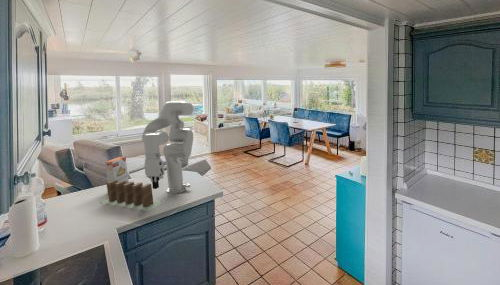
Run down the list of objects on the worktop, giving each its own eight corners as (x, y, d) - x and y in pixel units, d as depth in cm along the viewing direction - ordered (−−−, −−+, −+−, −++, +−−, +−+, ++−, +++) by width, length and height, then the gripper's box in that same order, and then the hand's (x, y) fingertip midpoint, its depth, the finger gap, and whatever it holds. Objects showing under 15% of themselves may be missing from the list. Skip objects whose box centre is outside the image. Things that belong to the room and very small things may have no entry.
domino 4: (144, 201, 166) (142, 182, 163) (137, 206, 160) (134, 186, 158) (141, 201, 167) (139, 182, 164) (134, 205, 161) (131, 185, 159)
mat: (163, 202, 164) (163, 202, 164) (149, 211, 153) (149, 210, 153) (115, 195, 179) (115, 195, 178) (99, 203, 168) (99, 202, 168)
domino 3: (136, 200, 168) (133, 181, 166) (128, 204, 163) (126, 185, 160) (133, 200, 169) (130, 181, 167) (125, 204, 164) (122, 184, 161)
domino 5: (153, 203, 163) (151, 183, 161) (146, 207, 158) (143, 187, 155) (150, 202, 164) (147, 183, 162) (142, 206, 159) (140, 187, 156)
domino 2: (128, 199, 171) (125, 180, 168) (120, 203, 165) (117, 184, 163) (125, 199, 171) (122, 180, 169) (117, 202, 166) (114, 183, 164)
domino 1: (120, 198, 173) (117, 179, 171) (112, 202, 168) (109, 183, 165) (117, 197, 174) (114, 179, 172) (109, 201, 168) (106, 182, 166)
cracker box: (116, 192, 185) (112, 162, 181) (108, 192, 186) (104, 161, 182) (129, 185, 198) (125, 156, 194) (122, 184, 200) (118, 156, 195)
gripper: (168, 155, 153) (171, 187, 156) (146, 153, 158) (150, 184, 162) (159, 158, 146) (162, 191, 149) (137, 156, 152) (140, 189, 155)
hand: (155, 188), depth 155 cm, fingers closed
